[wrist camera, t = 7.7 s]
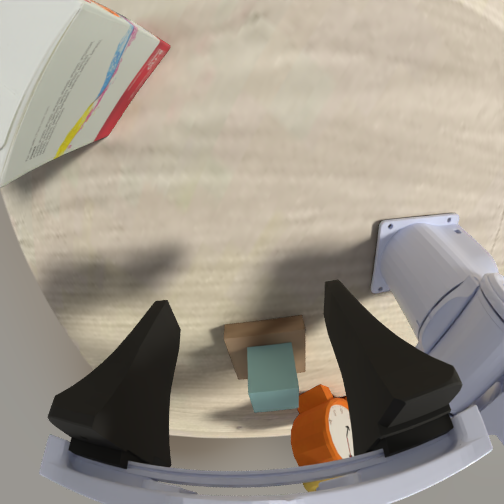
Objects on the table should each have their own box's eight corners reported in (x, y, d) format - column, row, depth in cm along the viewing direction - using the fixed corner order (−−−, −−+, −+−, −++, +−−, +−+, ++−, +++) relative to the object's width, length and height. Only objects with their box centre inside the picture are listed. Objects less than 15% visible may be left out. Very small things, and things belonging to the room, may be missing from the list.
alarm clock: (361, 397, 39) (384, 498, 23) (333, 412, 42) (350, 508, 25) (317, 379, 35) (338, 512, 18) (284, 396, 37) (296, 518, 20)
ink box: (175, 46, 14) (88, -2, 4) (107, 139, 17) (-3, 200, 7) (98, 2, 11) (-5, -30, 1) (42, 90, 14) (-69, 121, 4)
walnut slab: (301, 311, 28) (305, 329, 26) (302, 355, 32) (305, 371, 30) (224, 320, 28) (223, 338, 26) (238, 363, 32) (238, 379, 30)
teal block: (291, 342, 26) (298, 387, 22) (292, 366, 29) (298, 407, 24) (247, 347, 27) (248, 393, 22) (252, 370, 29) (254, 412, 24)
